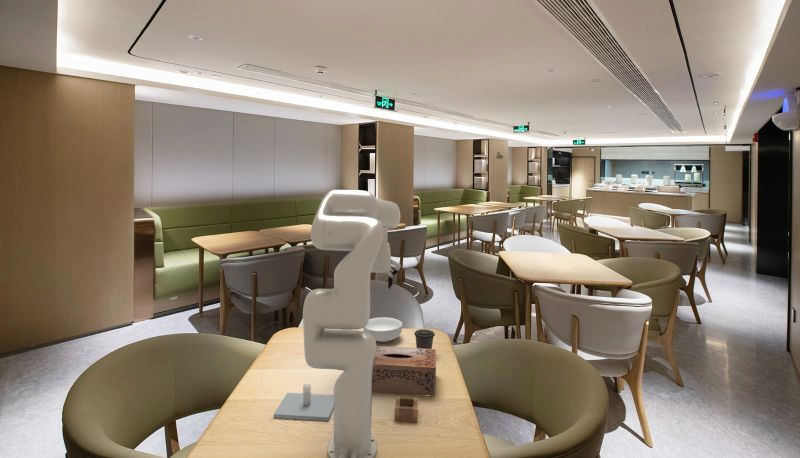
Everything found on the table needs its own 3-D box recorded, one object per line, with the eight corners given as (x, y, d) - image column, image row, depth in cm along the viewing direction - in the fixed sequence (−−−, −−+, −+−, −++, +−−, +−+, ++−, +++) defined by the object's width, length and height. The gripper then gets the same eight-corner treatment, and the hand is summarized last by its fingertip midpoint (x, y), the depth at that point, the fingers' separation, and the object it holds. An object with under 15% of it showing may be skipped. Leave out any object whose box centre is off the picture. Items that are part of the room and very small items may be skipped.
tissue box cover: (435, 376, 147) (435, 349, 146) (435, 397, 133) (435, 367, 132) (363, 371, 149) (363, 345, 148) (355, 392, 135) (355, 363, 134)
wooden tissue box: (416, 422, 119) (417, 409, 118) (394, 421, 119) (394, 408, 119) (417, 410, 125) (417, 397, 125) (396, 408, 125) (396, 396, 125)
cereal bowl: (386, 329, 191) (386, 314, 190) (409, 340, 178) (410, 324, 177) (355, 337, 180) (355, 322, 179) (378, 350, 167) (378, 333, 166)
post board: (328, 421, 118) (328, 397, 117) (273, 418, 119) (273, 394, 118) (337, 398, 130) (337, 377, 129) (287, 396, 131) (287, 374, 130)
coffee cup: (433, 360, 159) (434, 335, 157) (412, 358, 160) (413, 334, 159) (434, 352, 167) (435, 328, 165) (414, 350, 168) (415, 326, 167)
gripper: (350, 240, 141) (349, 289, 143) (400, 241, 140) (399, 291, 142) (353, 237, 148) (353, 283, 150) (402, 238, 147) (400, 285, 149)
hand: (375, 287), depth 146 cm, fingers open, 9 cm apart
